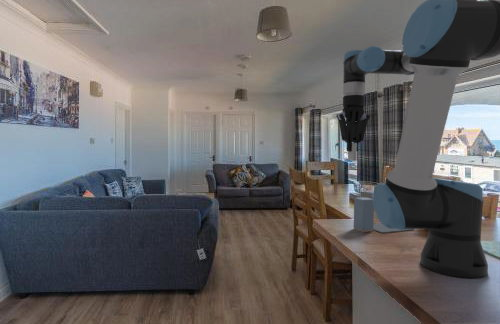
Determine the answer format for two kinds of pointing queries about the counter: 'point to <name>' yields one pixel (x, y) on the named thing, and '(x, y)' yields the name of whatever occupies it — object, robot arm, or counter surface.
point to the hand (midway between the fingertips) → (352, 160)
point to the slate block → (363, 214)
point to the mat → (383, 229)
